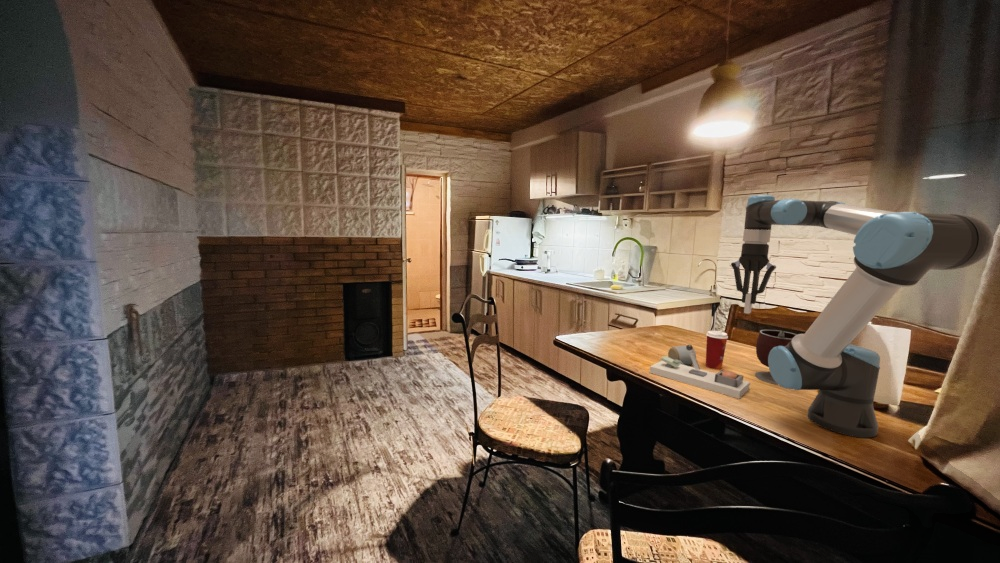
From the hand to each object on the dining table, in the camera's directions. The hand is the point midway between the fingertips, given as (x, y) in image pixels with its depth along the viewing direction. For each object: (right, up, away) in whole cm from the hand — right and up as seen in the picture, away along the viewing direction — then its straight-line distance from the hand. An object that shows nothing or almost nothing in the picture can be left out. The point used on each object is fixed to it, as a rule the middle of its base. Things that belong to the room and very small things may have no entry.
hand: (747, 312), depth 135 cm
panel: (-13, -25, +8) cm, 29 cm away
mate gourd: (+18, -26, +12) cm, 33 cm away
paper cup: (+1, -24, +24) cm, 34 cm away
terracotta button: (-6, -23, +1) cm, 24 cm away
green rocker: (-20, -20, +15) cm, 32 cm away
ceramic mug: (-10, -23, +25) cm, 35 cm away
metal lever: (-13, -21, +8) cm, 26 cm away
